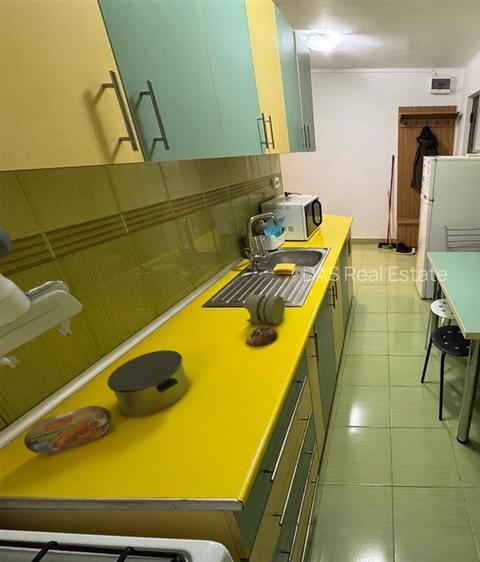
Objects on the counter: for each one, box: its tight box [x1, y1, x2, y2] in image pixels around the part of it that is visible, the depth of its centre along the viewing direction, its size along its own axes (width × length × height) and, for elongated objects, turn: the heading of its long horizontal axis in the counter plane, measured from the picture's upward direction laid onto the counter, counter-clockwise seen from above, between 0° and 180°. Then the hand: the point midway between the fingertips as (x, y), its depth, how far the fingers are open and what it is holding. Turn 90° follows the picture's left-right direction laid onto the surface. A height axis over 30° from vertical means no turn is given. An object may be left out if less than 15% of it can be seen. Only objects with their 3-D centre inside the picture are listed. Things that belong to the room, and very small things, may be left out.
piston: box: [242, 294, 286, 325], centre depth 123 cm, size 11×12×11 cm
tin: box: [23, 405, 113, 455], centre depth 72 cm, size 15×3×8 cm, turn 117°
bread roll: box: [245, 325, 278, 347], centre depth 113 cm, size 11×11×5 cm
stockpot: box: [106, 349, 189, 417], centre depth 86 cm, size 19×17×9 cm
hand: (43, 348), depth 67 cm, fingers open, 8 cm apart
